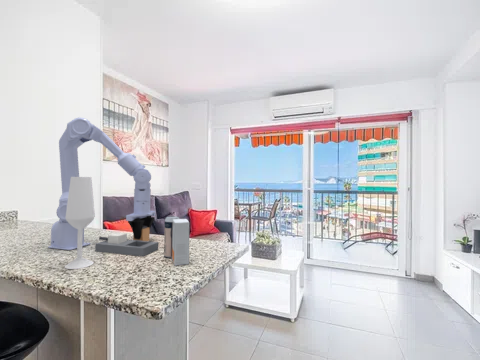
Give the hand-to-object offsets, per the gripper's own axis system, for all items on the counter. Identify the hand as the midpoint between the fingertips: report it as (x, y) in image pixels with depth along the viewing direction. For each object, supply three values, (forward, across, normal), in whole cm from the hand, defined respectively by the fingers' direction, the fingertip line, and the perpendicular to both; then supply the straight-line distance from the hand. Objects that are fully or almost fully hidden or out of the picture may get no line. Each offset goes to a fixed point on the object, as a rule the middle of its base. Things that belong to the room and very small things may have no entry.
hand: (141, 237), depth 91 cm
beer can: (+2, -11, -19) cm, 22 cm away
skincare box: (+2, -15, -24) cm, 28 cm away
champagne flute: (+2, -25, +1) cm, 25 cm away
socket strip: (+2, -10, -2) cm, 10 cm away
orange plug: (+1, 0, 0) cm, 1 cm away
